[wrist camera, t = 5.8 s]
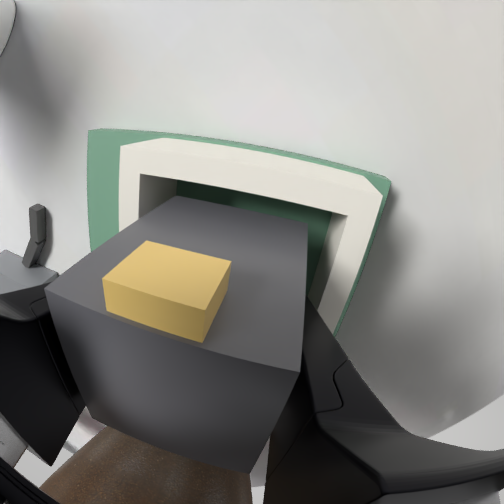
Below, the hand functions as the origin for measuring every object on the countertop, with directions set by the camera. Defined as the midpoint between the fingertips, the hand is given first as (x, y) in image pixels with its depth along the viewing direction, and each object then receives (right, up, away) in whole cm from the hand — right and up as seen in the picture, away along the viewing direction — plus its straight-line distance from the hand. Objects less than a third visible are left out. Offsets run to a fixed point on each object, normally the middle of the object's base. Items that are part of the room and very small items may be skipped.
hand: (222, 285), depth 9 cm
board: (-1, +1, +4) cm, 4 cm away
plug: (0, +1, +1) cm, 1 cm away
